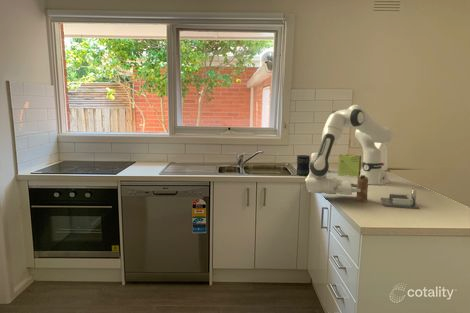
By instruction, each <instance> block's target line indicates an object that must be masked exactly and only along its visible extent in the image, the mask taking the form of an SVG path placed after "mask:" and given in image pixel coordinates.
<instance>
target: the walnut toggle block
mask: <svg viewBox="0 0 470 313" xmlns="http://www.w3.org/2000/svg"><path fill="white" fill-rule="evenodd" d="M356 184H357V188H360V189H361V192H356V201H357V202H361V203H367V202H368V191H369V190H368V188H369V184H368V178H367V177H365V175H361V177H360V176H359V177H357V183H356Z"/></svg>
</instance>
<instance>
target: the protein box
mask: <svg viewBox="0 0 470 313" xmlns="http://www.w3.org/2000/svg"><path fill="white" fill-rule="evenodd" d="M361 169H362V154H352V153H351V154H350V153H349V154H347V153H346V154H345V153H341V154H339V155H338V166H337V175H338V174H339V175H338V176H343V175H349V176H348V177H353V176H357V177H356V178H358V177H360V173H361Z"/></svg>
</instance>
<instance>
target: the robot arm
mask: <svg viewBox="0 0 470 313" xmlns="http://www.w3.org/2000/svg"><path fill="white" fill-rule="evenodd" d="M351 127H354V128H356V129H355V131H354V137H355V139H356V140H357V141H358V142H359V143H360V145H361V148H362V152H363V153H362V156H363V158H362V161H361V173H360V176H359V177H361V175H365V177H367V178H368V185H378V186H379V185H380V186H384V185H386V184H388V183H390V182H391V181H392V180H391V179H390V178H389V179H388V173H387V172H386V170H385V171H384V170H383V169H382V166H384V163H380V162H381V151H380V150H379V149H378V148H377V147H376V146H375V144H374V143H384V144H385V143H390V142H391V141H392V139H393V138H394V133H393V130H392V129H391V127H387V126H385V125H382V124H381V123H379V122H377V121H376V120H375V119H373V118H372V117H371V116H370V114H369V113H368V112H367V111H366V110H365V109H364V108H363V107H362V106H361V105H359V104H353V105H350V106H349V107H348V108H347V109H346V108H345V109H340V110H338V109H337V110H334V111H331V113H330V114H329V115H328V118H327V120H326V121H325V124H324V127H323V129H322V132H321V133H322V134H321V143H320V146H319V149H318V151H317V153H318V154H317V156H316V157H315V158H314V159H313V160H312V162H311V161H310V163H309V168H310V170H309V175H308V176H306V178H305V179H304V186H305V190H306V191H307V192H309V193H314V194H327V195H337V194H340V195H346V196H351V195H353V193H357V192H361V189H360V188H357V183H354V182H351V180H347V179H339V178H336V177H333V178H328V174H329V167H330V165H329V157H330V155H331V151H332V149H333V146H334V145H335V146H336V145H337V144H338V143H339V141H340V140H341V137H342V135H343V131H344V128H351Z"/></svg>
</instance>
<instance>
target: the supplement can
mask: <svg viewBox="0 0 470 313" xmlns="http://www.w3.org/2000/svg"><path fill="white" fill-rule="evenodd" d="M317 154H318V152H312V153H311V155H310V158H311V159H310V163H311V162H312V160H313V159H314V158H315V157H316V156H317Z"/></svg>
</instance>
